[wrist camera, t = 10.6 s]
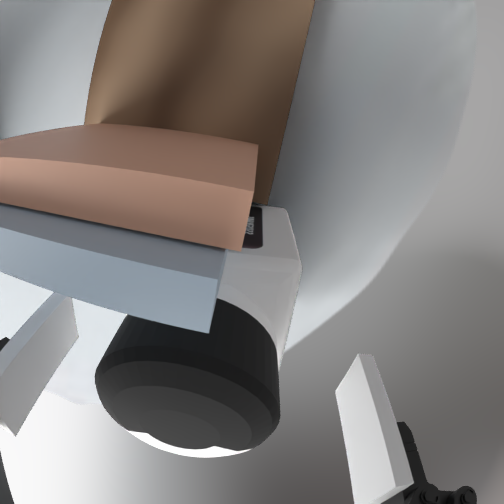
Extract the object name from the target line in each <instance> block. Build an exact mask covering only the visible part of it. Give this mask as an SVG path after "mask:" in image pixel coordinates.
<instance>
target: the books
mask: <svg viewBox="0 0 504 504" xmlns="http://www.w3.org/2000/svg"><path fill="white" fill-rule="evenodd" d="M258 146H259V145H258V144H253V143H248V142H243V141H238V140H233V139H227V138H222V137H216V136H210V135H204V134H197V133H191V132H184V131H177V130H169V129H161V128H152V127H142V126H132V125H120V124H105V123H97V124H88V125H79V126H72V127H65V128H58V129H52V130H46V131H40V132H35V133H29V134H24V135H20V136H15V137H11V138H6V139H2V140H0V271H1V272H3V273H5V274H8V275H10V276H13V277H15V278H18V279H21V280H23V281H26V282H29V283H31V284H34V285H37V286H39V287H42V288H45V289H48V290H51V291H54V292H57V293H59V294H62V295H65V296H68V297H71V298H75V299H78V300H81V301H84V302H87V303H90V304H94V305H97V306H100V307H104V308H107V309H111V310H114V311H118V312H121V313H125V314H129V315H132V316H136V317H140V318H144V319H148V320H152V321H156V322H160V323H164V324H168V325H172V326H176V327H181V328H185V329H190V330H194V331H199V332H204V333H209V330H210V326H211V321H212V317H213V312H214V308H215V304H216V299H217V295H218V291H219V286H220V282H221V278H222V274H223V269H224V265H225V261H226V257H227V253H228V249H230V250H235V251H240V252H241V249H242V245H243V240H244V235H245V231H246V226H247V222H248V217H249V213H250V208H251V203H252V199H253V194H254V187H255V177H256V166H257V156H258Z"/></svg>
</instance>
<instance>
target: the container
mask: <svg viewBox="0 0 504 504" xmlns="http://www.w3.org/2000/svg"><path fill="white" fill-rule="evenodd" d="M301 273H302V263H301V259H300V255H299V252H298V248H297V244H296V240H295V237H294V233H293V229H292V226H291V222H290V219H289V215H288V212H287V210H286V209H284V208H279V207H270V206H261V205H252V204H251V208H250V213H249V217H248V222H247V226H246V231H245V235H244V240H243V245H242V249H241V252H240V251H235V250H230V249H228V253H227V257H226V261H225V265H224V269H223V274H222V278H221V282H220V286H219V291H218V295H217V299H216V304H215V308H214V312H213V317H212V321H211V326H210V330H209V333H204V332H199V331H194V330H190V329H185V328H181V327H176V326H172V325H168V324H164V323H160V322H156V321H152V320H148V319H144V318H140V317H136V316H132V315H129V314H125V315H126V317H125V319H124V320H123V322H122V324H121V326H120V327H119V329H118V331H117V333H116V334H115V336H114V338H113V340H112V341H111V343H110V345H109V347H108V348H107V350H106V352H105V354H104V356H103V357H102V359H101V361H100V363H99V365H98V367H97V369H96V373H95V384H96V389H97V392H98V395H99V398H100V400H101V402H102V404H103V406H104V408H105V409H106V411H107V412H108V413H109V414H110V415H111V417H112V418H113V419H114V420H115V421H116V422H117V423H118V424H120V425H121V426H122V427H123V428H124V429H126V430H127V431H128V432H130V433H131V434H133V435H134V436H136V437H137V438H139V439H140V440H142V441H144V442H146V443H148V444H150V445H152V446H154V447H157V448H159V449H162V450H165V451H168V452H171V453H175V454H180V455H185V456H192V457H219V456H228V455H234V454H239V453H242V452H245V451H248V450H250V449H253V448H255V447H256V446H258V445H260V444H261V443H262V442H263V441H265V440H266V439H267V438H268V437H269V436H270V435H271V434H272V433H273V431H274V430H275V429H276V427H277V425H278V423H279V419H280V398H279V376H278V373H279V369H280V365H281V361H282V357H283V353H284V349H285V345H286V341H287V337H288V332H289V328H290V324H291V319H292V315H293V310H294V306H295V301H296V297H297V292H298V287H299V283H300V278H301Z"/></svg>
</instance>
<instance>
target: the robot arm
mask: <svg viewBox="0 0 504 504" xmlns="http://www.w3.org/2000/svg"><path fill="white" fill-rule="evenodd" d="M78 337H79V336H78V331H77V326H76V321H75V315H74V309H73V303H72V298H71V297H68V296H65V295H62V294H59V293H57V292H54V293H53V294H52V295H51V296H50V297H49V298H48V299H47V300H46V301H45V302H44V303H43V304H42V305H41V306H40V307H39V308H38V309H37V311H36V312H35V313H34V314H33V315H32V316H31V317H30V318H29V319H28V320H27V321H26V322H25V324H24V325H23V326H22V327H21V328H20V329H19V330H18V331H17V333H16V334H15V335H14V336H13V337H12V338H11V339H8V338H7V337H5V338H3V339H2V340H0V425H1V427H2V428H3V429H5V430H6V431H8V432H9V433H11V434H12V435H14V436H16V435H17V433H18V432H19V430H20V428H21V426H22V425H23V423H24V421H25V419H26V418H27V416H28V414H29V412H30V411H31V409H32V407H33V406H34V404H35V402H36V401H37V399H38V397H39V396H40V394H41V392H42V391H43V389H44V388H45V386H46V385H47V383H48V382H49V380H50V378H51V377H52V375H53V374H54V372H55V371H56V369H57V368H58V366H59V365H60V363H61V362H62V360H63V359H64V357H65V356H66V354H67V353H68V351H69V350H70V349H71V347H72V346H73V344H74V343H75V341H76V340H77V339H78ZM335 393H336V398H337V402H338V408H339V413H340V418H341V424H342V429H343V434H344V440H345V446H346V452H347V457H348V463H349V470H350V476H351V482H352V490H353V497H354V504H476V502H477V498H476V493H475V491H474V490H473V489H472V488H471V487H469V486H463V487H461V488H459V489H458V490H456V491H440V490H438V488H437V487H436V486H434V485H433V484H429V483H428V482H427V480H426V477H425V473H424V470H423V466H422V463H421V460H420V457H419V453H418V451H417V447H416V444H415V443H414V438H413V435H412V432H411V430H410V429H409V427H408V426H407V425H406V423H405V422H396V420H395V417H394V414H393V411H392V408H391V405H390V402H389V399H388V396H387V393H386V390H385V387H384V384H383V382H382V379H381V376H380V373H379V371H378V368H377V366H376V363H375V360H374V357H373V355H369V354H359V353H358V355H357V357H356V358H355V360H354V362H353V363H352V365H351V367H350V368H349V370H348V372H347V373H346V375H345V377H344V378H343V380H342V381H341V383H340V385H339V386H338V388H337V389H336V391H335ZM0 504H14V502H13V498H12V495H11V492H10V489H9V485H8V482H7V478H6V474H5V470H4V466H3V462H2V457H1V453H0Z"/></svg>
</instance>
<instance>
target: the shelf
mask: <svg viewBox="0 0 504 504" xmlns="http://www.w3.org/2000/svg"><path fill="white" fill-rule="evenodd" d="M314 3H315V0H112V2H111V5H110V8H109V11H108V14H107V18H106V21H105V24H104V28H103V31H102V35H101V38H100V42H99V46H98V50H97V54H96V59H95V63H94V68H93V73H92V78H91V83H90V89H89V94H88V101H87V107H86V114H85V122H84V125H88V124H97V123H105V124H120V125H132V126H142V127H152V128H161V129H169V130H177V131H184V132H191V133H197V134H204V135H210V136H216V137H222V138H227V139H233V140H238V141H243V142H248V143H253V144H258V145H259V146H258V156H257V166H256V177H255V187H254V194H253V199H252V202H255V203H260V204H264V205H267V204H268V200H269V195H270V191H271V187H272V183H273V179H274V174H275V170H276V166H277V162H278V158H279V153H280V149H281V145H282V141H283V136H284V132H285V128H286V124H287V119H288V115H289V111H290V107H291V102H292V98H293V94H294V89H295V85H296V81H297V77H298V72H299V68H300V64H301V59H302V55H303V51H304V46H305V42H306V38H307V33H308V29H309V25H310V20H311V16H312V12H313V7H314Z"/></svg>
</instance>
